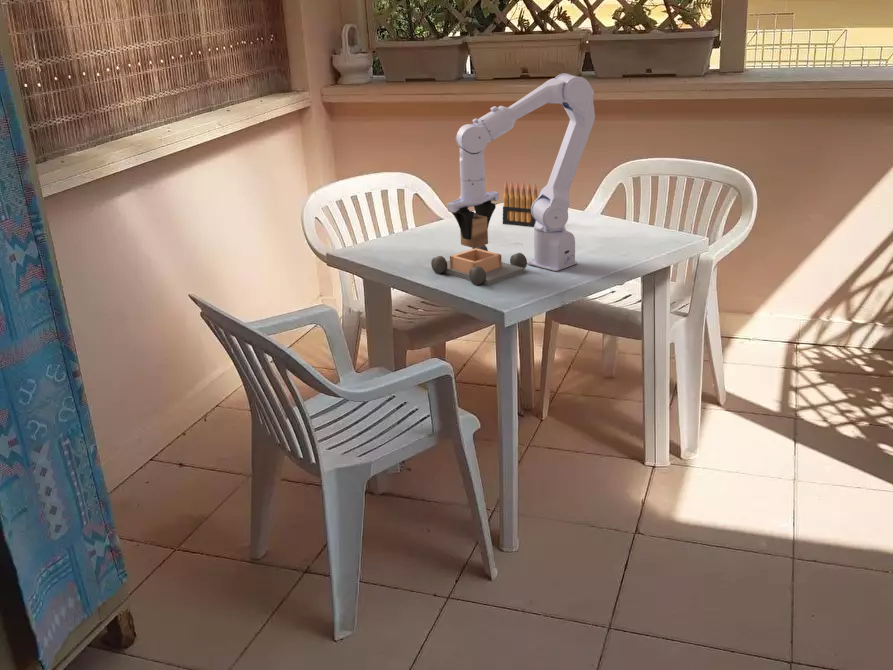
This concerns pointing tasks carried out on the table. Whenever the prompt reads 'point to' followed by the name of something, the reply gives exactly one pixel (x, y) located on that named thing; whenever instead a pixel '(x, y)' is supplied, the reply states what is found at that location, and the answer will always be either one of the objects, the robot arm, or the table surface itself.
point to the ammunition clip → (518, 205)
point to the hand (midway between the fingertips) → (474, 236)
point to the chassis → (480, 266)
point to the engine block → (477, 232)
